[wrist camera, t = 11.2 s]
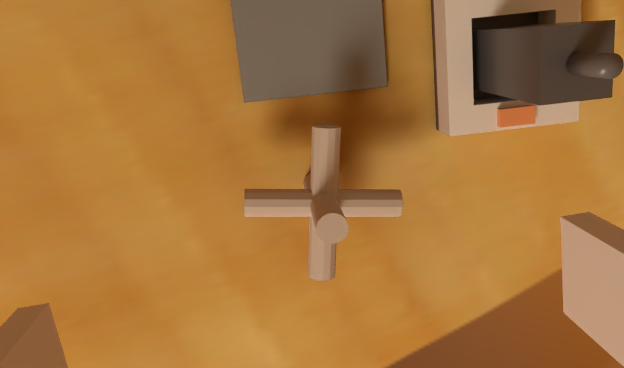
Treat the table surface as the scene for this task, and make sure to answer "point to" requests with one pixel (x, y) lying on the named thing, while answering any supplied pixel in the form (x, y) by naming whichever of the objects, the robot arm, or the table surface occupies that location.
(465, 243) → the table surface
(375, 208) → the pipe connector
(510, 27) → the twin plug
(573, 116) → the power strip
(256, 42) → the pad
